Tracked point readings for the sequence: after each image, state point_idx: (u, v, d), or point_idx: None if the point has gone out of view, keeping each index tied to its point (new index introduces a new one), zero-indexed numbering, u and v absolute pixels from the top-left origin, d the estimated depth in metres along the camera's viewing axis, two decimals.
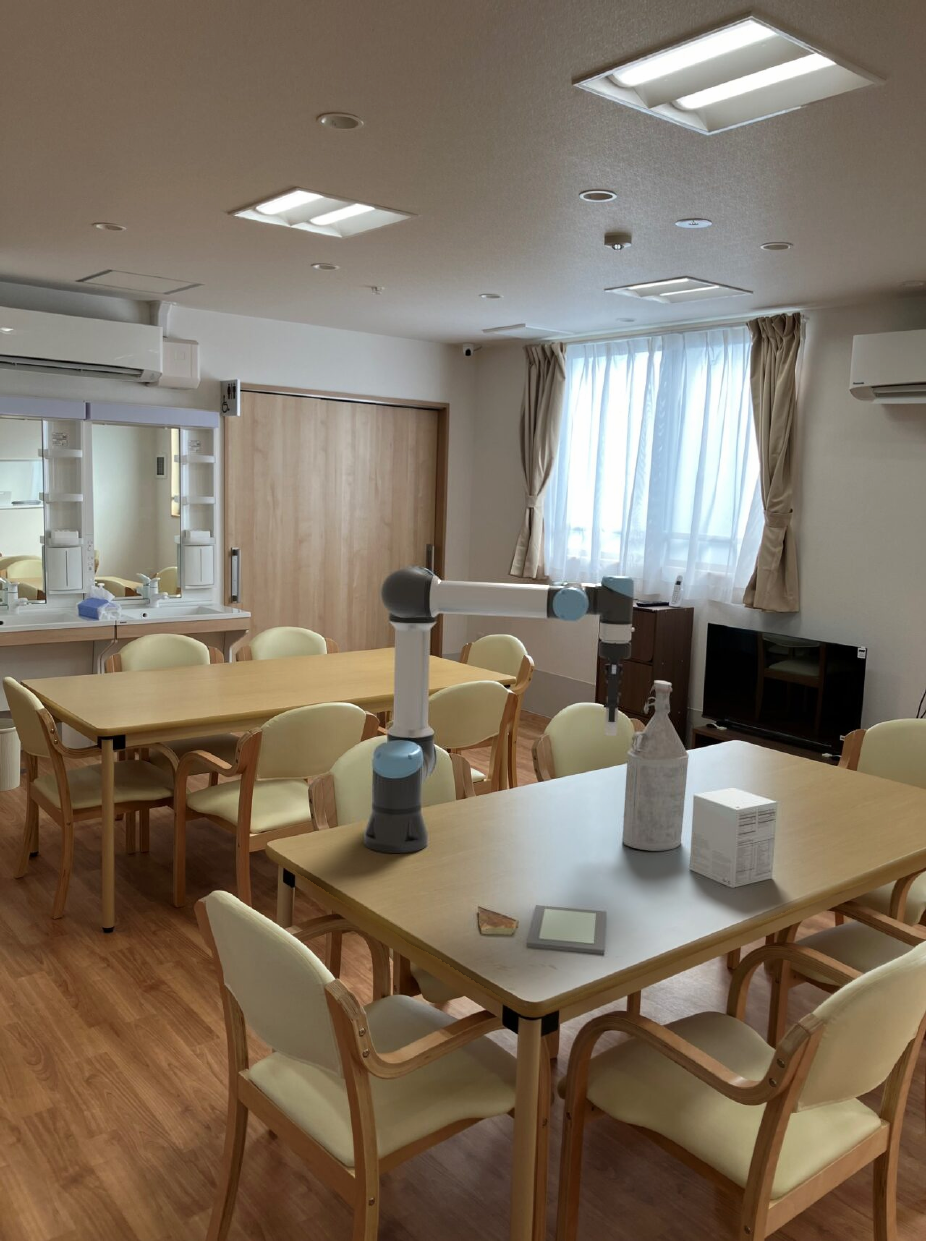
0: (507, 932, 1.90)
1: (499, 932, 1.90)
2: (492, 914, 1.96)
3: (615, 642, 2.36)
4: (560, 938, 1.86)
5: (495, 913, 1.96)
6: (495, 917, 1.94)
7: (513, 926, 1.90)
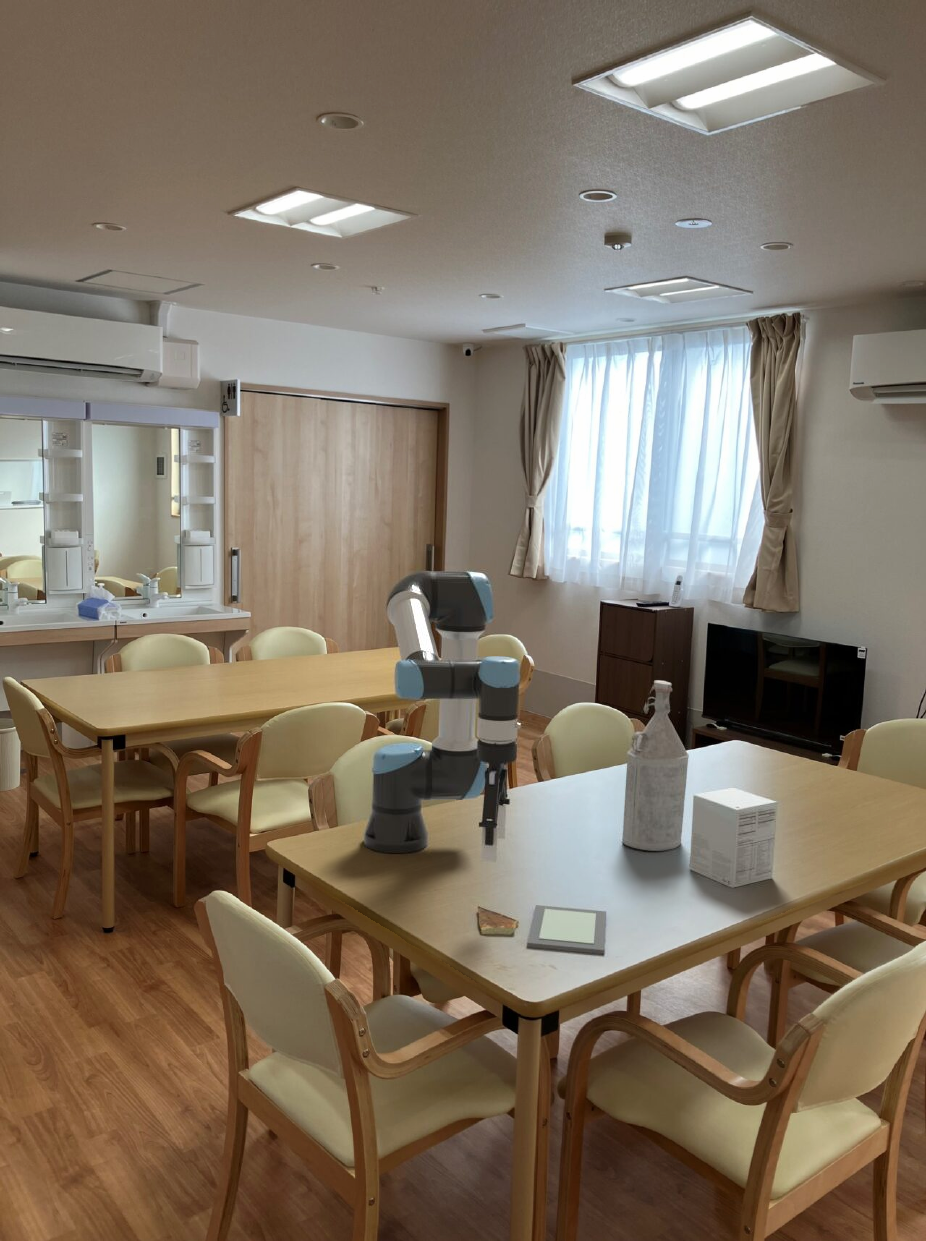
0: (507, 932, 1.90)
1: (499, 932, 1.90)
2: (492, 914, 1.96)
3: (495, 742, 1.87)
4: (560, 938, 1.86)
5: (495, 913, 1.96)
6: (495, 917, 1.94)
7: (513, 926, 1.90)
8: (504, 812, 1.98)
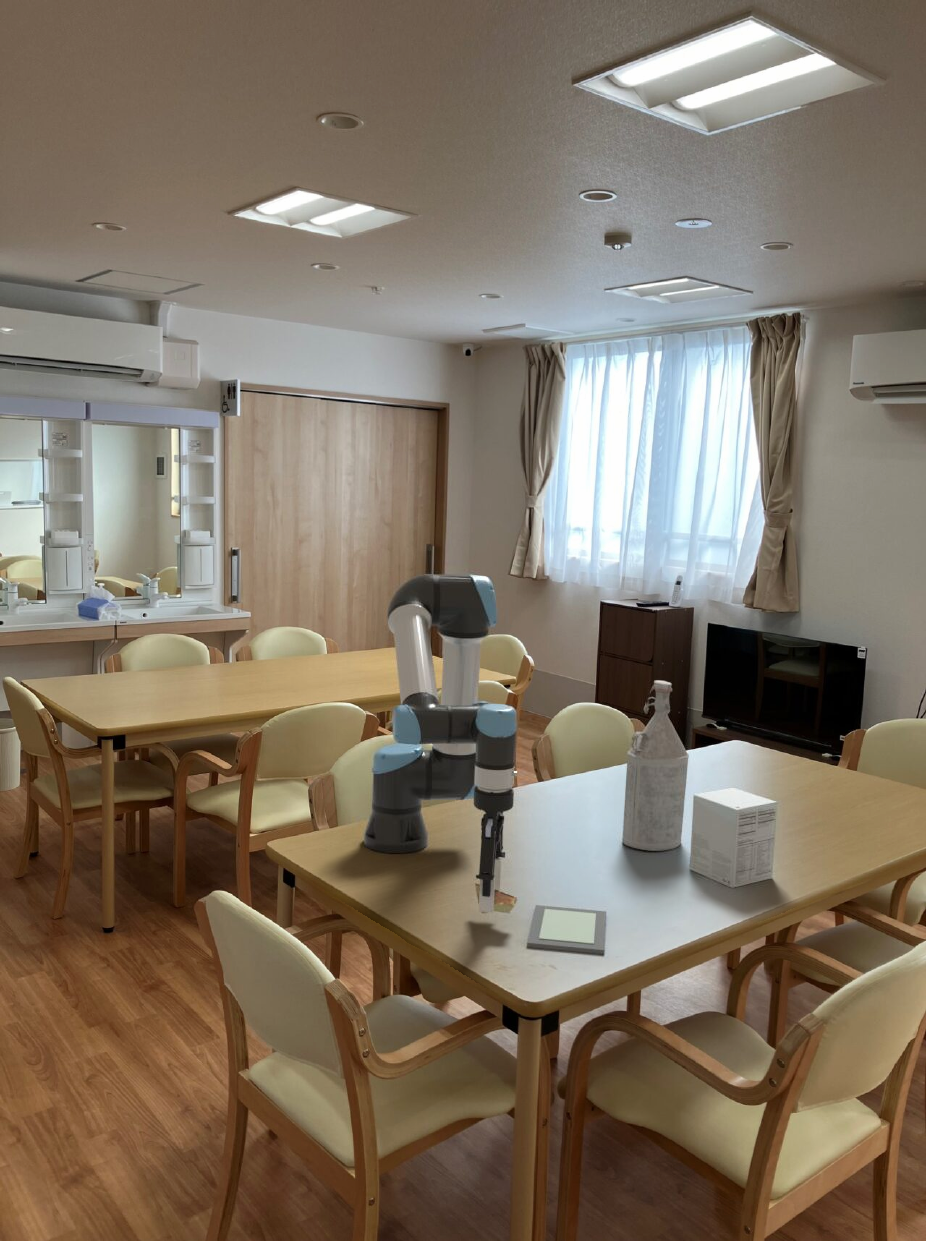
0: (506, 909, 1.89)
1: (498, 909, 1.89)
2: None
3: (492, 791, 1.87)
4: (560, 938, 1.86)
5: None
6: None
7: (512, 903, 1.90)
8: (499, 865, 1.97)
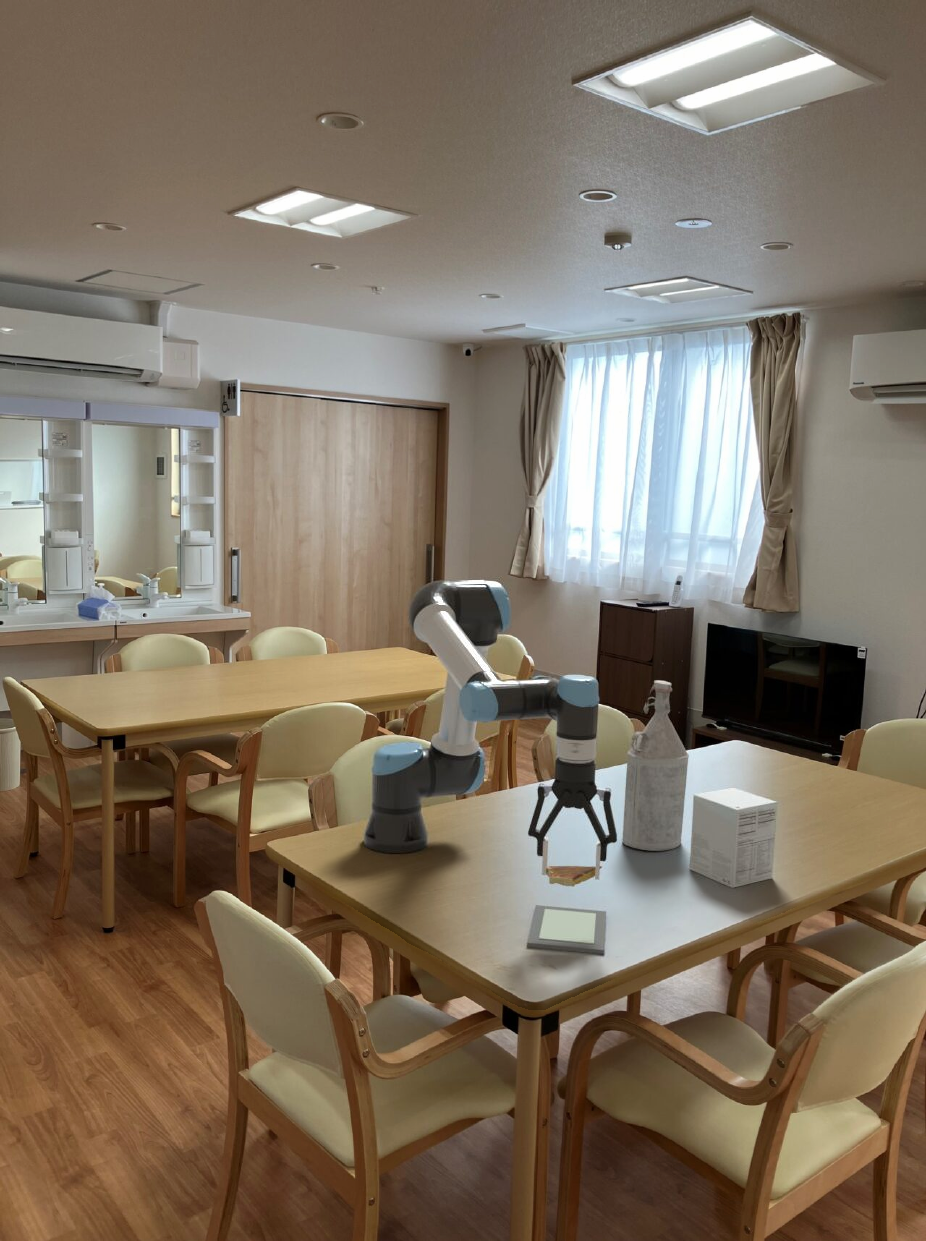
0: (550, 879, 1.88)
1: (548, 876, 1.89)
2: (582, 870, 1.91)
3: (558, 757, 1.89)
4: (560, 938, 1.86)
5: (585, 871, 1.90)
6: (574, 870, 1.90)
7: (555, 876, 1.87)
8: (596, 851, 1.88)
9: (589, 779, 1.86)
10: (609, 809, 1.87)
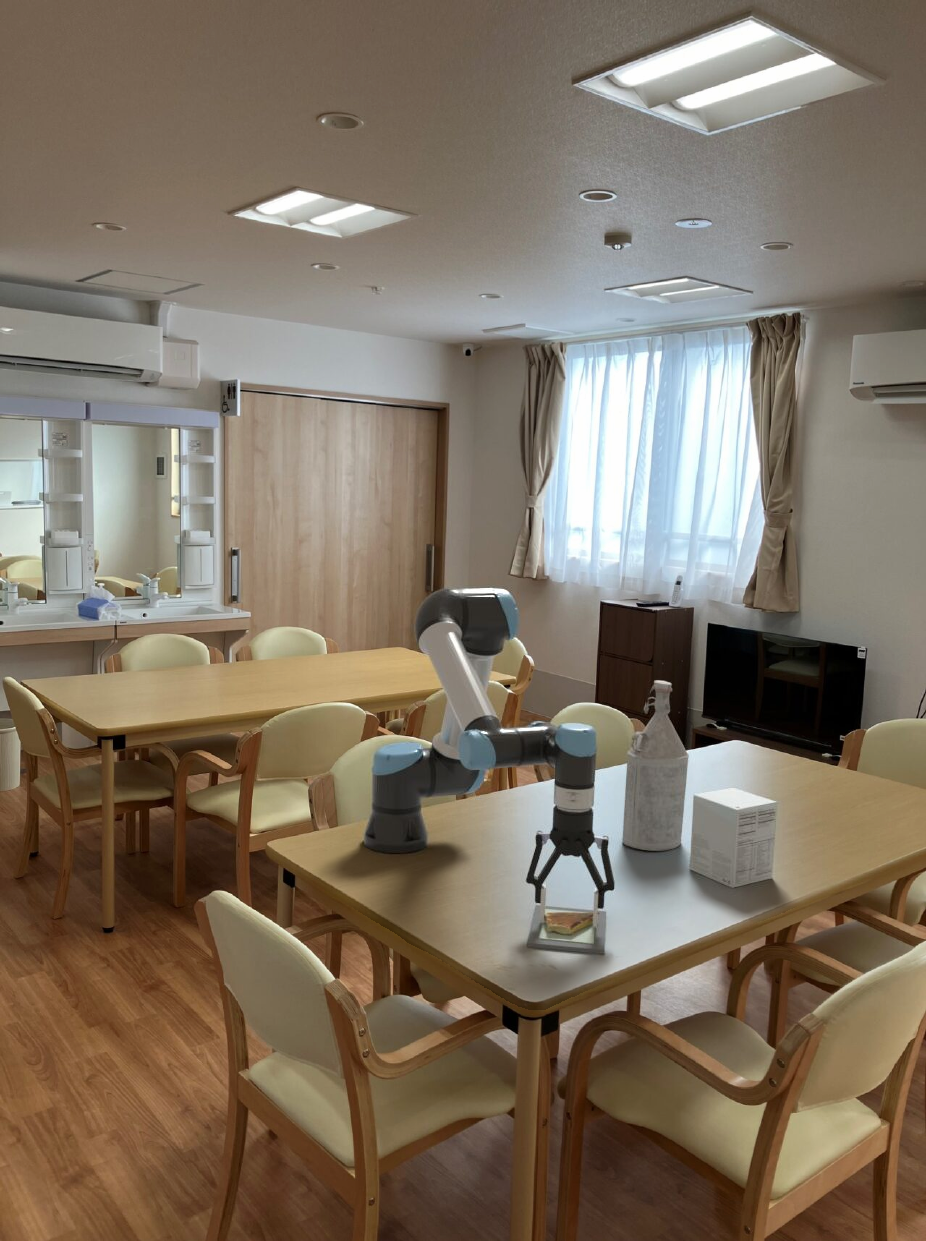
0: (548, 926, 1.89)
1: (546, 923, 1.90)
2: (579, 917, 1.92)
3: None
4: (560, 938, 1.86)
5: (583, 918, 1.91)
6: (572, 917, 1.91)
7: (553, 924, 1.88)
8: (594, 899, 1.90)
9: (587, 828, 1.87)
10: (607, 857, 1.88)
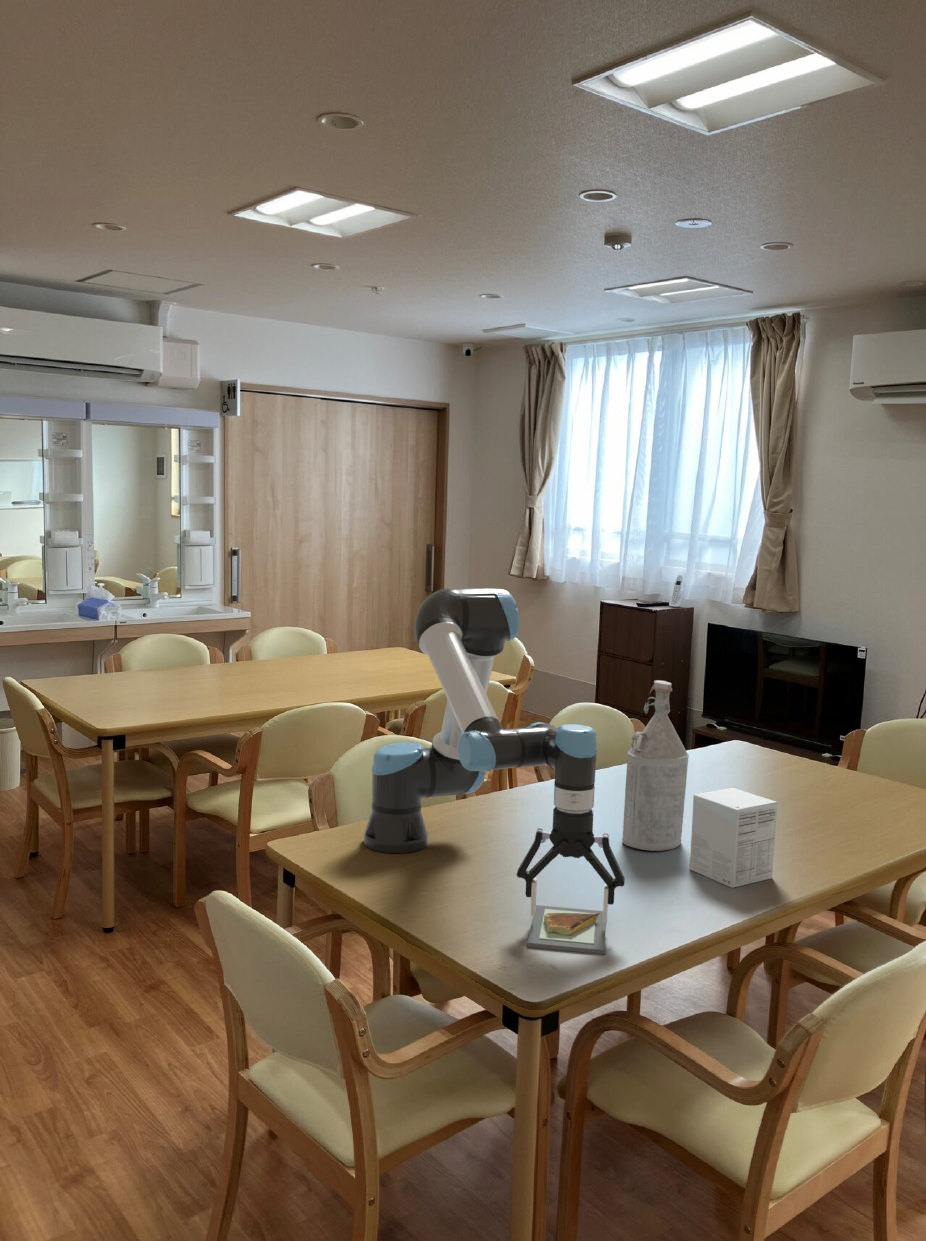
0: (548, 927, 1.89)
1: None
2: (579, 918, 1.92)
3: (556, 806, 1.90)
4: (560, 938, 1.86)
5: (583, 919, 1.91)
6: (572, 918, 1.91)
7: (553, 925, 1.88)
8: (604, 895, 1.89)
9: (587, 829, 1.87)
10: (610, 854, 1.88)
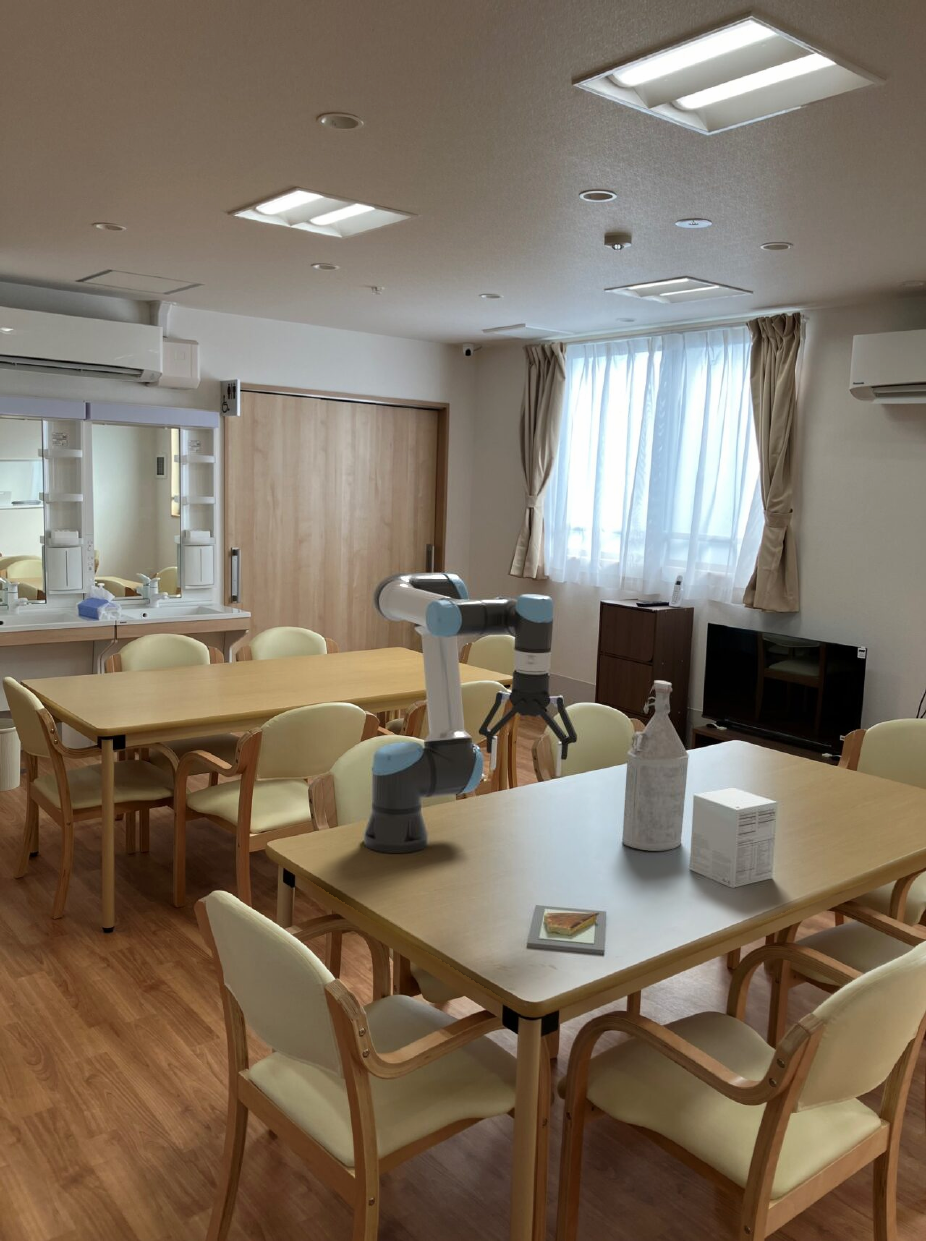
0: (548, 927, 1.89)
1: None
2: (579, 917, 1.92)
3: (516, 669, 2.07)
4: (560, 938, 1.86)
5: (583, 919, 1.91)
6: (572, 918, 1.91)
7: (553, 925, 1.88)
8: (558, 750, 2.06)
9: (543, 689, 2.04)
10: (564, 713, 2.05)
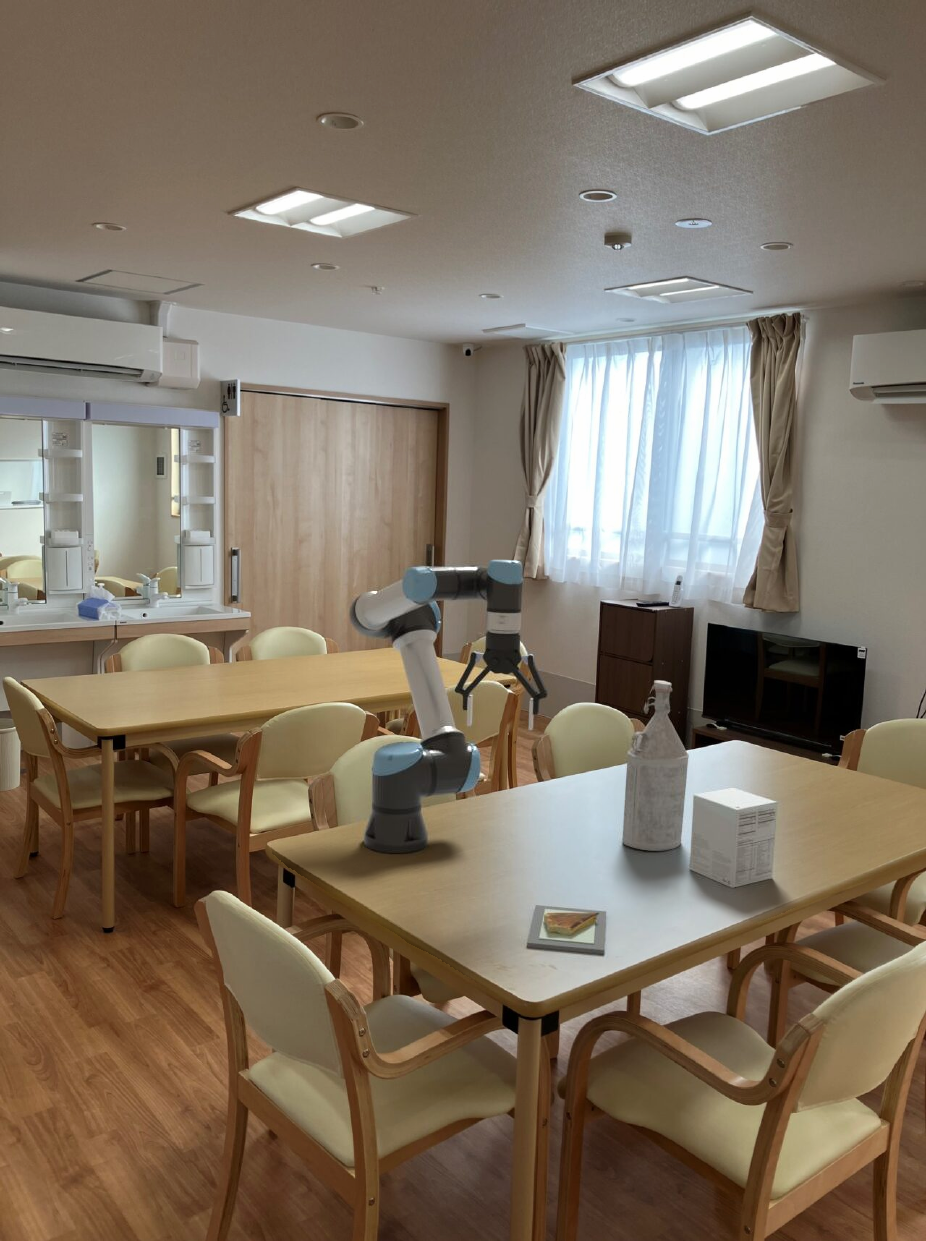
0: (548, 927, 1.89)
1: (547, 923, 1.91)
2: (579, 917, 1.92)
3: (488, 630, 2.20)
4: (560, 938, 1.86)
5: (583, 919, 1.91)
6: (572, 918, 1.91)
7: (553, 925, 1.88)
8: (529, 706, 2.19)
9: (514, 647, 2.17)
10: (534, 670, 2.18)
